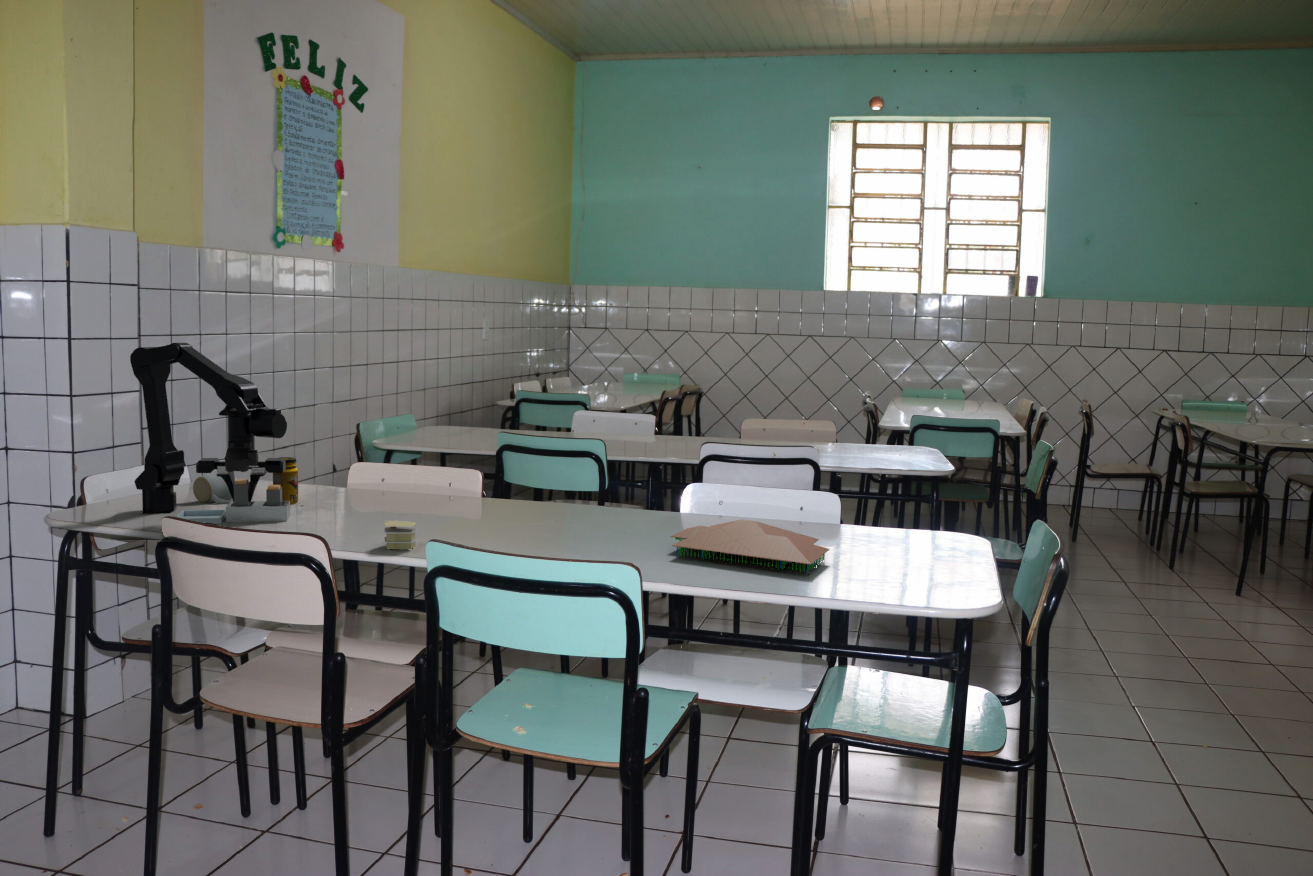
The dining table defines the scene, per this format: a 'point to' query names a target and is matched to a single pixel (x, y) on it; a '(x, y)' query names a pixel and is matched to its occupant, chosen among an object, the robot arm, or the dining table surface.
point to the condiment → (288, 481)
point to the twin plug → (274, 495)
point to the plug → (241, 492)
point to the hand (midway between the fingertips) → (242, 501)
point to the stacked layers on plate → (400, 535)
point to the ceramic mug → (211, 489)
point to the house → (752, 542)
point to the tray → (204, 515)
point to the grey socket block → (257, 512)
